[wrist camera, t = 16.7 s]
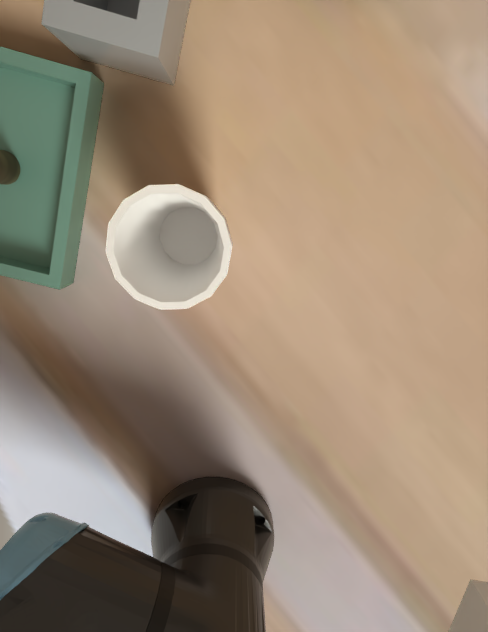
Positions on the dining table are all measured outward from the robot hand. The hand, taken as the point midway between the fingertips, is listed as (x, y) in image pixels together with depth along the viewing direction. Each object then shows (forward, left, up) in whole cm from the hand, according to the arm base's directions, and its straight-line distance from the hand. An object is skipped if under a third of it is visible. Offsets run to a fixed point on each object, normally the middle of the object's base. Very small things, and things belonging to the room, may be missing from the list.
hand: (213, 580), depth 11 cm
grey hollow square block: (+23, +15, -36) cm, 45 cm away
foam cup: (+5, +6, -36) cm, 37 cm away
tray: (+7, +25, -36) cm, 44 cm away
